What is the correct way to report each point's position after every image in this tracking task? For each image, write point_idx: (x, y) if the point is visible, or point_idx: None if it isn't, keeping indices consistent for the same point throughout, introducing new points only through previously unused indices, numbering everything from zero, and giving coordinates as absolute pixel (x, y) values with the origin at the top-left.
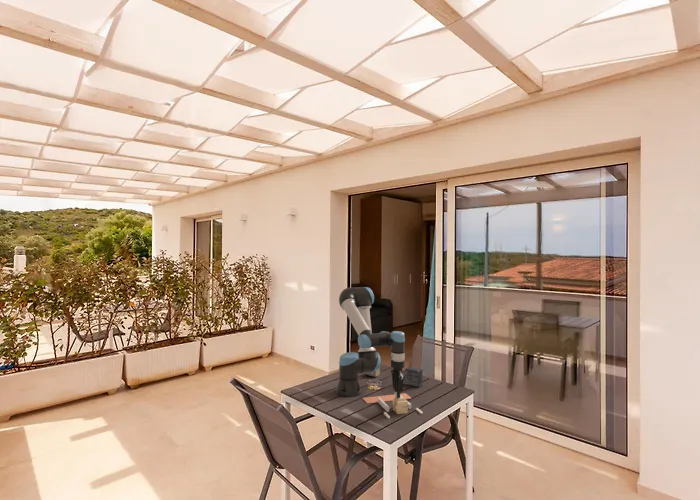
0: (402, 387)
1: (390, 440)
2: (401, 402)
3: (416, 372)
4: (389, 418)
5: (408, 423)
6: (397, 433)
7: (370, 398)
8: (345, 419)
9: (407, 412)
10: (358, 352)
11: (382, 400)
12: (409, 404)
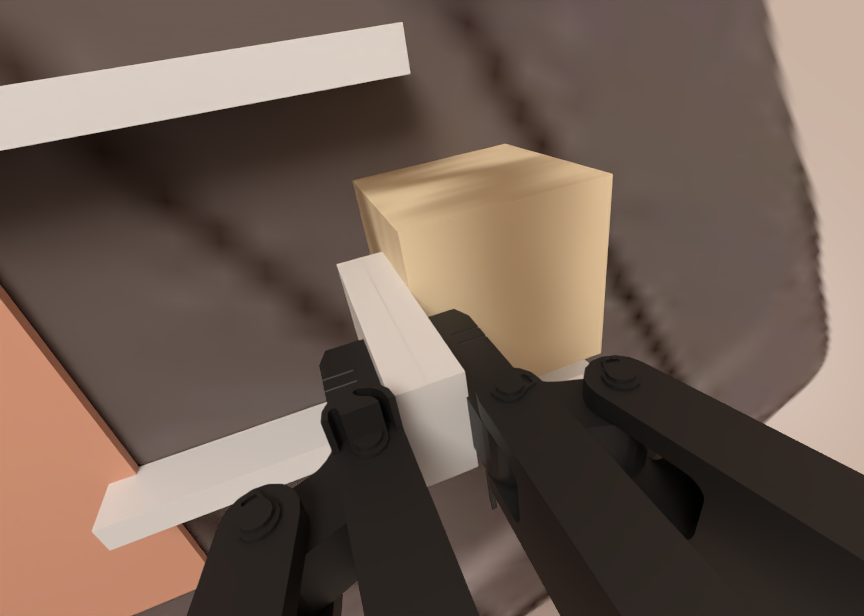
0: (776, 442)
1: (816, 362)
2: (601, 292)
3: None
4: (584, 363)
5: (718, 203)
6: (786, 317)
7: (27, 588)
8: (516, 604)
9: (508, 147)
10: None
11: (233, 482)
12: (409, 69)
